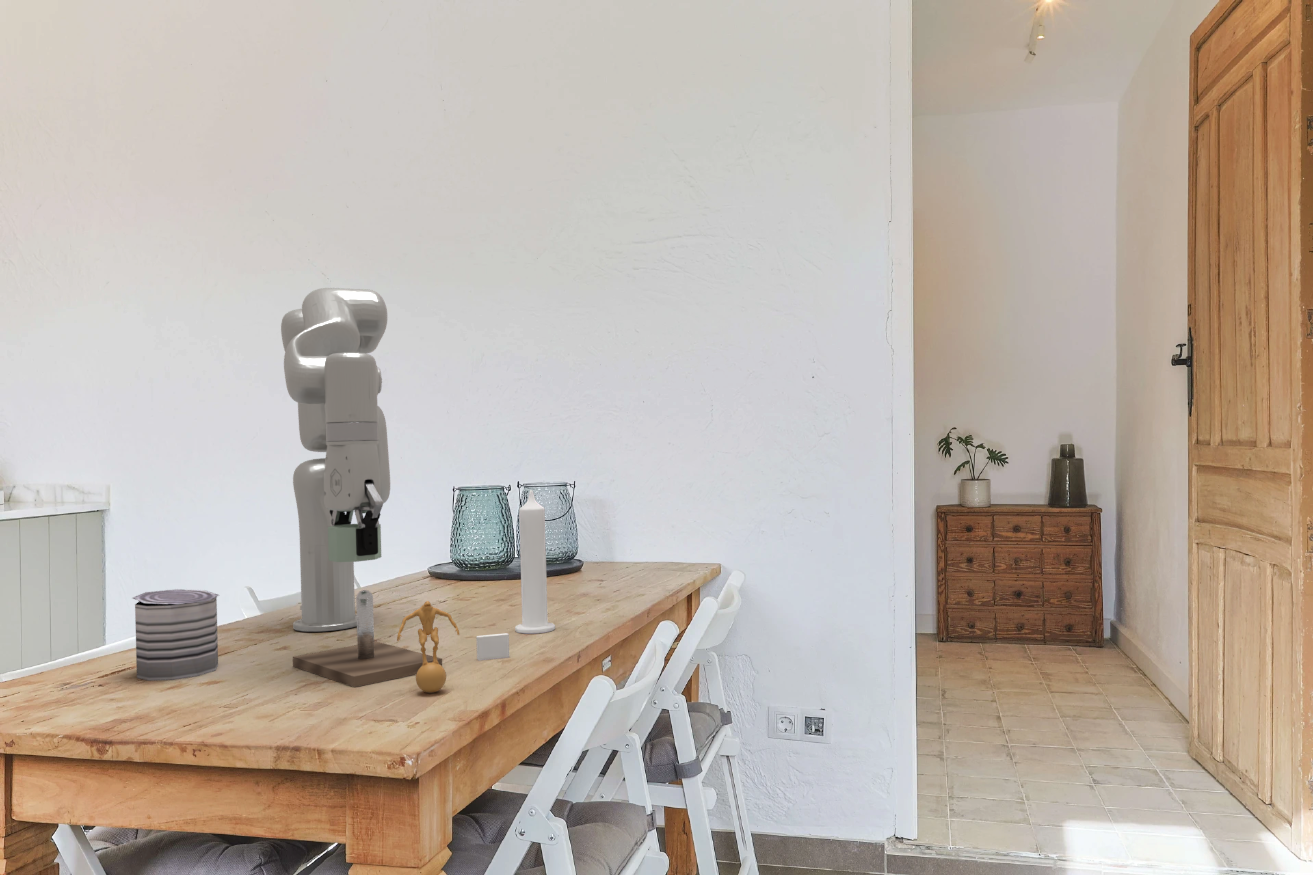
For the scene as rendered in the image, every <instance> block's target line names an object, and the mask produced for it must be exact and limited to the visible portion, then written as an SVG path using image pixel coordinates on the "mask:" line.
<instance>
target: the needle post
mask: <svg viewBox="0 0 1313 875" xmlns="http://www.w3.org/2000/svg"><path fill="white" fill-rule="evenodd" d="M355 599H356V600H355V601H356V602H355V603H356V615H357V626H356V632H357V633H356V634H357V635H356V636H357V638H356V639H357V645H358V659H371V658H374V642H375V633H374V632H375V630H374V629H375V628H374V624H375V622H374V594H373V593H372V592H371V591H370V590H367V589H362V590H361V591H358V593H357V594H356V598H355Z"/></svg>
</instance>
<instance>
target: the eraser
mask: <svg viewBox="0 0 1313 875" xmlns="http://www.w3.org/2000/svg"><path fill="white" fill-rule="evenodd" d="M475 638H476V659H477V660H476V661H479V662H480V661H487V660H488V661H489V660H497V659H508V658H510V634H509V633H508V632H507V633H496V634H485V635H483V634H482V635H476V637H475Z"/></svg>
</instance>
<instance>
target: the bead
mask: <svg viewBox="0 0 1313 875" xmlns="http://www.w3.org/2000/svg"><path fill="white" fill-rule="evenodd" d="M356 529H359V527H358V523H351V524H346V525H335V526H330V527H328V551H329V561H334V562H354V563H357V562H366V561H374V560H377V559H381V558H382V534H381V533H382V531H381V529H382V527H381V523H379V527H378V553H377V554H375V555H365V556H358V555H357V554H356Z"/></svg>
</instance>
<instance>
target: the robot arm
mask: <svg viewBox="0 0 1313 875" xmlns="http://www.w3.org/2000/svg"><path fill="white" fill-rule="evenodd" d="M387 325H388V308H387V305H386V302H385V300H384V298H383V297H382V295H380V293H378V292H377V291H375V290H373V289H364V288H341V287H340V288H339V287H322V288H317V289H315V290H312V291H310V292H309V293H308V294H307V295H306V296H305V298H304V299H303V301H302V304H301V308H297V309H293V310H290V311H288V312H286V313H285V314H284V315H283V317H282V319H281V324H280V333H281V342H282V345H283V350H284V356H283V370H284V371H283V372H284V378H285V385H286V389H287V393H288V395H289V396H290V398H291V399H292V400H293V401H294V402H296V403H297V414H298V430H299V431H298V432H299V439H300V443H301V445H302V446H303V449H305V450H307V451H310V452H315V453H316V452H317V453H325V458H324V457H323V458H312V459H309V460H306V461H303V462H301V463H300V464H299V465H297V467H295V469H294V472H293V476H292V485H293V486H292V487H293V492H294V497H295V502H296V509H297V515H298V527H299V528H298V531H299V533H298V534H299V560H300V562H299V563H300V564H299V565H300V598H301V599H300V600H301V601H300V603H301V605H300V606H299V607H300V610H301V618H300V619H297V620H294V621H293V623H292V628H293V629H294V630H295V631H298V632H307V633H308V632H309V633H310V632H312V633H314V632H315V633H316V632H330V631H339V630H346V629H351V628H354V627H355V628H357V613H356V606H355V603H356V602H355V601H356V600H355V599H356V598H355V566H354V563H355V562H334V561H329V551H328V527H330V526H335V525H346V524H352V520H353V516H354V515H355V519H356V522H357V523H356V524H358V527H359V529H356V554H357V555H358V556H365V555H375V554H377V553H378V527H379V524H380V521H379V519H380V516H381V511H382V508H383V506H384V504H385V503H386V502H387V501H388V499H389V498H390V493H391V474H390V470H391V469H390V457H389V456H390V455H389V445H388V444H389V443H388V429H387V421H386V418H385V417H386V416H385V414H384V411H383V409H382V408H381V407H380V406H379V405H378V395H379V394H380V393H381V391H382V387H383V385H382V383H383V378H382V372H381V368H380V367H378V366H377V361H376V359H375V357H374V356H372V355H371V354H370V353H372V352H374V351H376V349H377V347H378V346H379V344H380V342H381V340H382V339H383V336H384V334H385V333H386V329H387ZM363 514H364V515H363Z"/></svg>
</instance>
